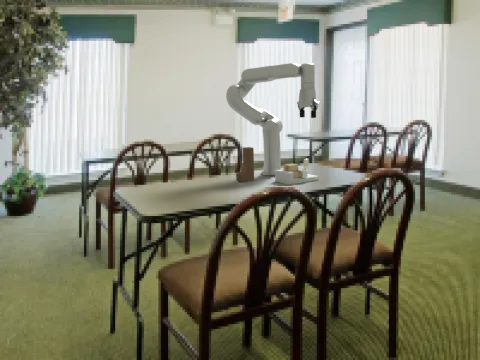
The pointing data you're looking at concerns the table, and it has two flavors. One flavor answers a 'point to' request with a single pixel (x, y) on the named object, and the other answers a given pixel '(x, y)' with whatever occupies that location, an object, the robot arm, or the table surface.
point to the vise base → (299, 180)
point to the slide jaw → (306, 169)
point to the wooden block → (247, 166)
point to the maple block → (292, 169)
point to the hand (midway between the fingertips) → (307, 117)
